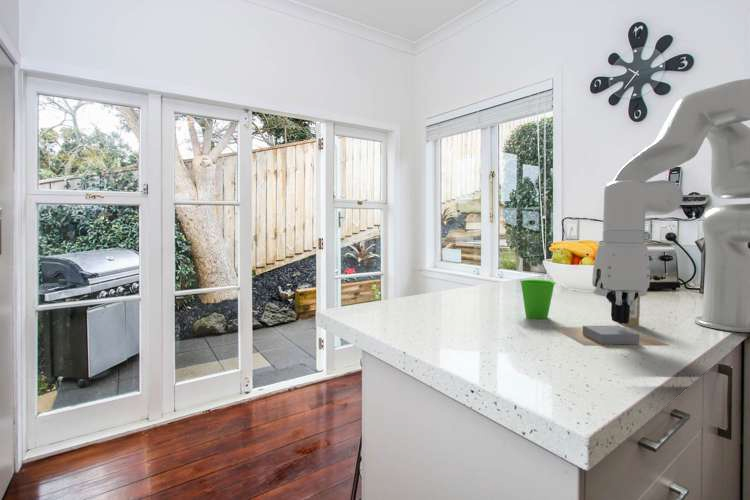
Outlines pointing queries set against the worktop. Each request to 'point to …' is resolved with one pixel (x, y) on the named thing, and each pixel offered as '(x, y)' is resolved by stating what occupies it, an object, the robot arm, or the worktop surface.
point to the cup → (537, 297)
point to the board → (578, 336)
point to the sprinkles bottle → (634, 313)
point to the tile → (611, 334)
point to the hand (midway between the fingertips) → (619, 321)
